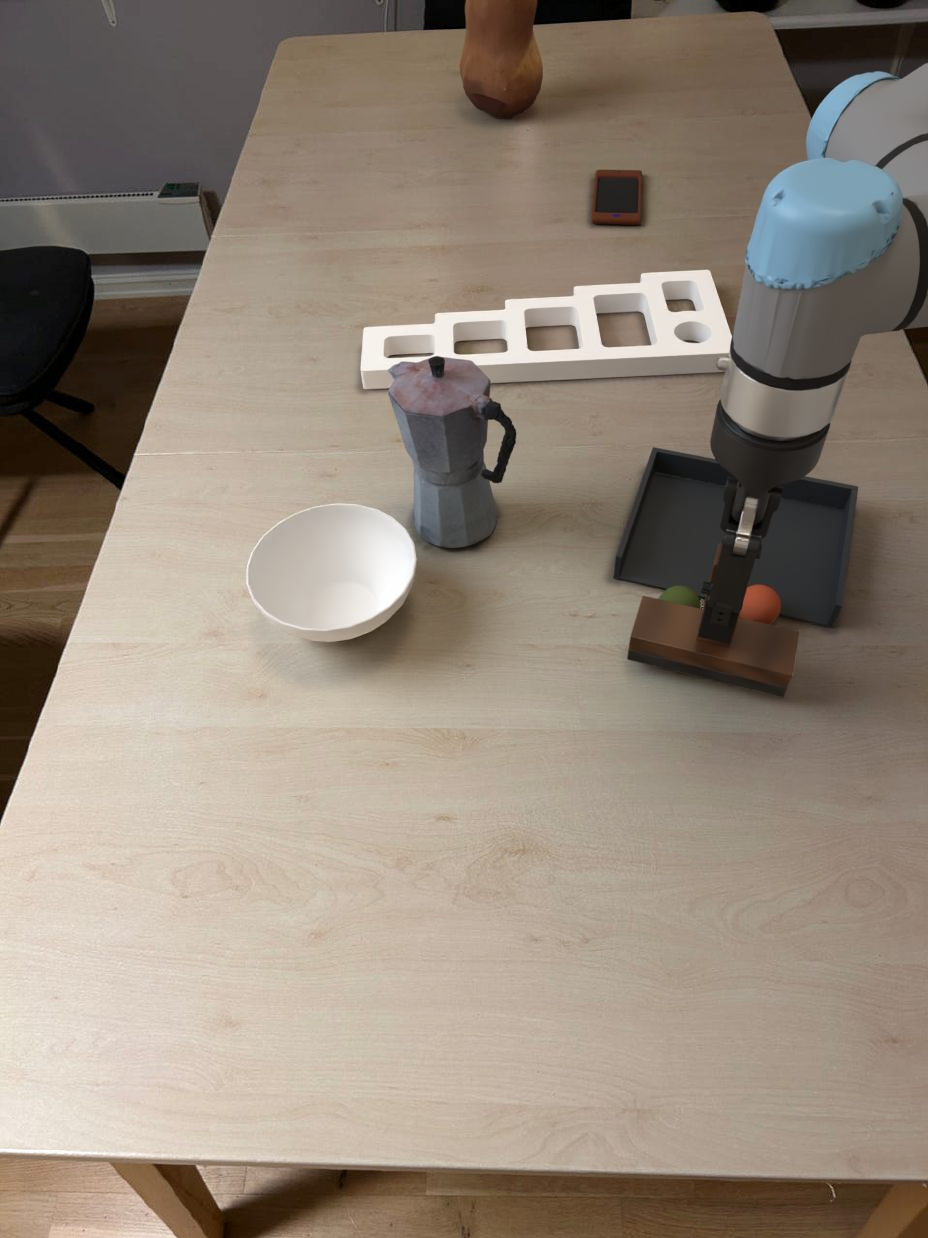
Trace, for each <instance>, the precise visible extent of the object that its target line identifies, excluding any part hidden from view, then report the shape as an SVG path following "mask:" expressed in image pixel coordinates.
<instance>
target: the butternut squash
mask: <svg viewBox="0 0 928 1238" xmlns="http://www.w3.org/2000/svg"><path fill="white" fill-rule="evenodd" d="M537 7H538V0H465V3H464V16H465V38H464V42H463V47H462V53H461V57H460V62H459V74H460V78H461V81H462V87H463V90H464V94H465V95H466V97H467V98H468V100H469V101H470V103H471V104H472V105H473V106H474V107H475V108H476V109H478V110H479V111H482V112H484V113H488V114H490V115H492V116H494V118H496V119H509V120H511V119H512V118H514V117H515V116H518V115H521V114H524V113H525V112H526V111H528V110H529V109H530V108H531V107H532V106H533V105H534V103H535V102H536V100H537V97H538V95H539V93H540V91H541V88H542V84H543V78H544V65H543V61H542V56H541V52H540V49H539V46H538V43H537V40H536V38H535V32H534V23H535V18H536V13H537Z"/></svg>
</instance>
